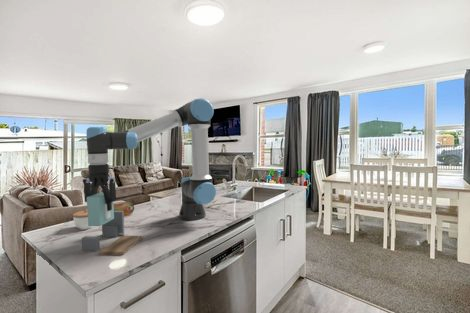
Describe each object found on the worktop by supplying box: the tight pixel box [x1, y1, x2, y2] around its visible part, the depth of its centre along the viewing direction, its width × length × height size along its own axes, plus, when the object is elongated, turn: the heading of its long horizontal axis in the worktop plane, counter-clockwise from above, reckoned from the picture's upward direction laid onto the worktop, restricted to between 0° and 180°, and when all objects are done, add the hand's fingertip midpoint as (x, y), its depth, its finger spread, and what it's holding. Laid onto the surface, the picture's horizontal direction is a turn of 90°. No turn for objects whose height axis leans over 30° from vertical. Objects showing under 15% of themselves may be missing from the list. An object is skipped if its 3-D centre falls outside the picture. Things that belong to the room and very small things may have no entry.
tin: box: [113, 201, 135, 218], centre depth 139 cm, size 15×3×8 cm, turn 139°
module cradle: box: [81, 211, 126, 252], centre depth 103 cm, size 10×17×11 cm, turn 176°
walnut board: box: [99, 234, 143, 256], centre depth 99 cm, size 9×16×1 cm, turn 176°
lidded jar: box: [72, 208, 94, 231], centre depth 121 cm, size 11×11×9 cm
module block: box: [86, 191, 114, 227], centre depth 102 cm, size 5×10×12 cm, turn 176°
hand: (101, 217), depth 102 cm, fingers closed on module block, 5 cm apart
